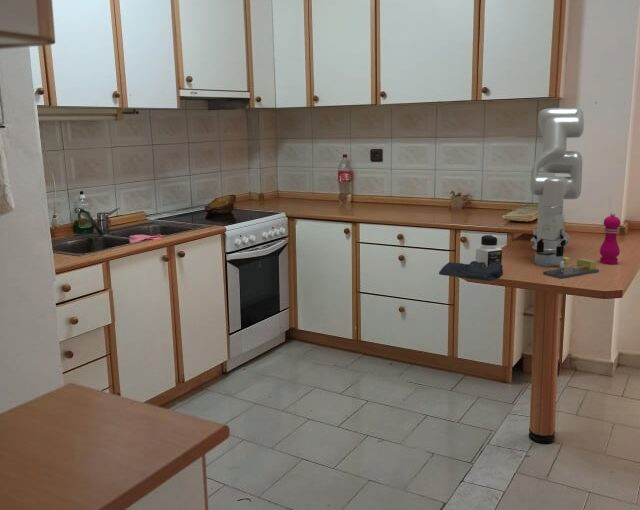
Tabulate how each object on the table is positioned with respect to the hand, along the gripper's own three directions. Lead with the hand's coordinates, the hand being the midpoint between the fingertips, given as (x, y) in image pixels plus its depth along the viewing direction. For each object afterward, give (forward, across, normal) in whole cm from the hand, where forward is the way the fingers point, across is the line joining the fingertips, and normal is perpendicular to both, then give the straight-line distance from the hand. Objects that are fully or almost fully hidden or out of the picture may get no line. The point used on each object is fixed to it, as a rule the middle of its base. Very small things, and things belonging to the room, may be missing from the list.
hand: (549, 254), depth 250 cm
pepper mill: (+4, +10, +23) cm, 25 cm away
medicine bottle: (+4, -10, -22) cm, 25 cm away
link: (+4, 0, 0) cm, 4 cm away
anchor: (+4, 0, +8) cm, 9 cm away
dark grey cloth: (+5, -4, -36) cm, 37 cm away
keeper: (+4, +14, -4) cm, 16 cm away
